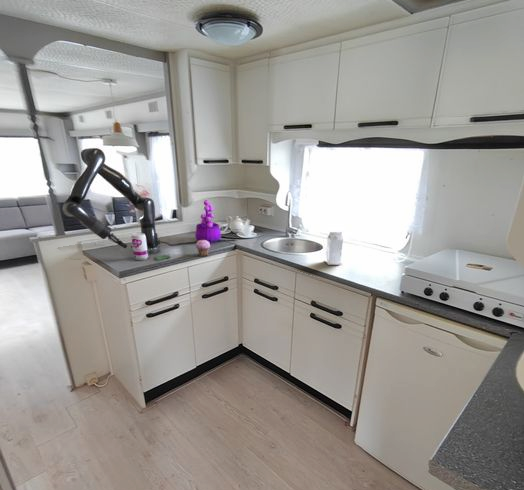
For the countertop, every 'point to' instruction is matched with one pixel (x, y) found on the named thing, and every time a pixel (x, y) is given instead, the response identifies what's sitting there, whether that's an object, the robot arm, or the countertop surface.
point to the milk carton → (334, 248)
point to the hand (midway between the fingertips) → (126, 247)
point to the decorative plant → (207, 226)
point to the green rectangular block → (161, 257)
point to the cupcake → (203, 247)
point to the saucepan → (152, 249)
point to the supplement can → (139, 246)
